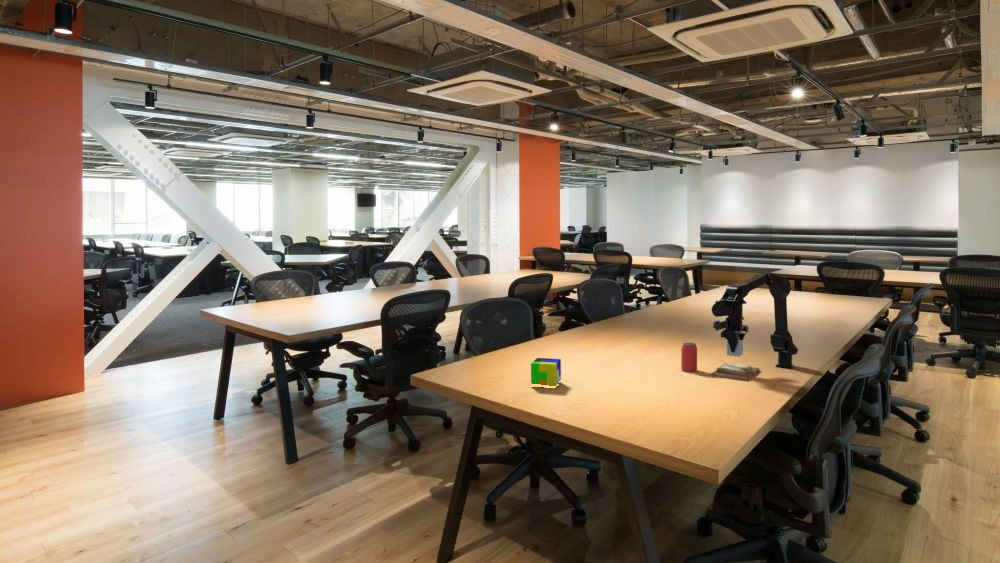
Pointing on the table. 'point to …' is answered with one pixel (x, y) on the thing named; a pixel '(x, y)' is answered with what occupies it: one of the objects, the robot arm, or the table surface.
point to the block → (738, 349)
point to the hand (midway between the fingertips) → (734, 351)
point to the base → (735, 371)
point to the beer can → (689, 357)
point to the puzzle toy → (546, 371)
